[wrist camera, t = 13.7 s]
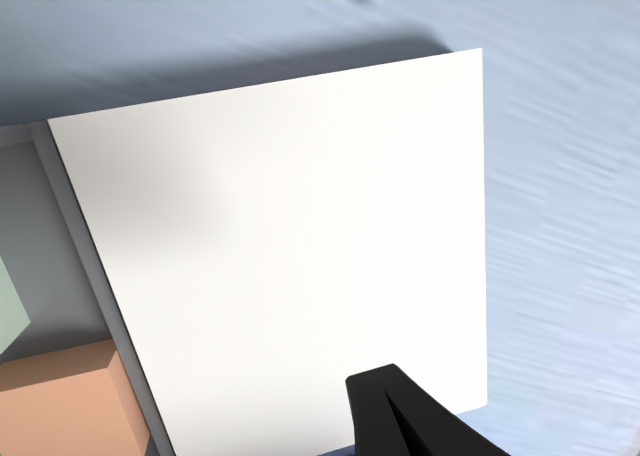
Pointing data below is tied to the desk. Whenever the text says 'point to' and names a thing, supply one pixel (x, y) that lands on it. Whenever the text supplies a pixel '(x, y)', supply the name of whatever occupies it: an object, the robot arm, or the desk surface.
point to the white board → (293, 246)
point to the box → (60, 265)
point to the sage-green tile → (10, 311)
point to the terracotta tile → (70, 405)
